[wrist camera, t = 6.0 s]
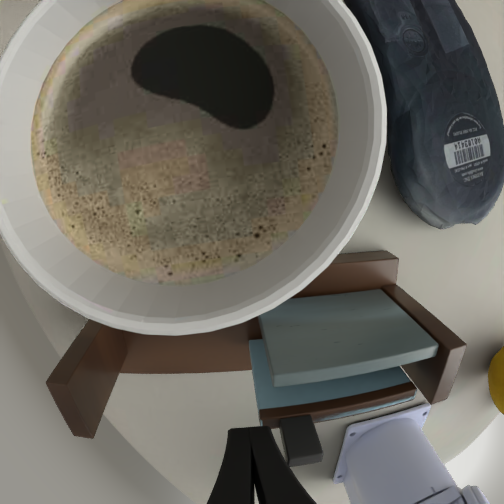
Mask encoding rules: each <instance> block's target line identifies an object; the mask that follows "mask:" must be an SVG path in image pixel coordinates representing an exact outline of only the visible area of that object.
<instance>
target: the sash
mask: <svg viewBox="0 0 504 504" xmlns="http://www.w3.org/2000/svg"><path fill="white" fill-rule="evenodd" d="M249 351H250V358H251V365H252V372H253V379H254V386H255V393H256V400H257V407H258V414H259V421H260V426H269V427H270V428H271V429H276V428H279V429H280V433H281V438H282V443H283V447H284V452H285V457H286V461H287V464H288V466H289V467H294V466H300V465H306V464H312V463H318V462H321V461H322V457H323V450H322V447H321V444H320V441H319V438H318V435H317V432H316V429H315V426H314V423H318V422H323V421H329V420H334V419H339V418H344V417H349V416H354V415H358V414H362V413H367V412H371V411H375V410H379V409H383V408H386V407H390V406H394V405H397V404H401V403H404V402H408V401H411V400H413V399H414V397H415V394H416V392H417V388H416V386H415V385H414V384H413V382H411V381H410V379H409V378H408V377H407V375H406V374H405V373H404V371H403V370H402V369H401V368H400V366H397V367H392V368H388V369H384V370H379V371H374V372H370V373H365V374H360V375H355V376H349V377H344V378H338V379H332V380H326V381H320V382H313V383H306V384H299V385H291V386H283V387H273V385H272V380H271V375H270V371H269V366H268V362H267V357H266V352H265V348H264V343H263V339H257V340H249Z"/></svg>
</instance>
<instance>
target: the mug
mask: <svg viewBox="0 0 504 504" xmlns="http://www.w3.org/2000/svg"><path fill="white" fill-rule="evenodd" d="M386 134H387V106H386V99H385V93H384V87H383V81H382V76H381V73H380V69H379V66H378V64H377V61H376V58H375V55H374V52H373V49H372V47H371V44H370V43H369V41H368V39H367V37H366V35H365V33H364V32H363V30H362V28H361V26H360V24H359V23H358V21H357V19H356V18H355V16H354V15H353V14H352V12H351V11H350V10H349V9H348V7H347V6H346V5H345V4H344V3H343V1H342V0H41V1H40V2H39V3H38V4H37V5H36V6H35V8H34V9H33V10H32V11H31V12H30V13H29V14H28V15H27V16H26V18H25V19H24V20H23V22H22V23H21V25H20V26H19V27H18V29H17V30H16V32H15V33H14V35H13V36H12V38H11V39H10V41H9V42H8V44H7V46H6V48H5V50H4V52H3V54H2V56H1V58H0V235H1V237H2V239H3V241H4V242H5V244H6V246H7V247H8V249H9V250H10V252H11V253H12V255H13V256H14V258H15V259H16V261H17V262H18V264H19V265H20V266H21V267H22V268H23V269H24V270H25V272H26V273H27V274H28V275H29V276H30V277H31V278H32V279H33V280H34V281H35V282H36V284H37V285H39V286H40V287H41V288H42V289H44V290H45V291H46V292H47V293H48V294H50V295H51V296H52V297H53V298H55V299H56V300H57V301H59V302H60V303H61V304H63V305H65V306H67V307H68V308H70V309H72V310H74V311H75V312H77V313H79V314H81V315H82V316H84V317H86V318H89V319H91V320H94V321H96V322H99V323H102V324H104V325H107V326H110V327H113V328H116V329H121V330H126V331H131V332H136V333H141V334H148V335H172V336H178V335H187V334H196V333H205V332H211V331H215V330H218V329H222V328H226V327H229V326H233V325H236V324H240V323H243V322H245V321H247V320H249V319H252V318H254V317H256V316H258V315H261V314H263V313H265V312H267V311H269V310H272V309H273V308H275V307H277V306H278V305H280V304H281V303H283V302H284V301H286V300H287V299H289V298H290V297H292V296H293V295H295V294H297V293H298V292H300V291H301V290H302V289H304V288H305V287H306V286H307V285H308V284H309V283H310V282H311V281H313V280H314V279H315V278H316V277H317V276H318V275H319V274H320V273H321V272H322V271H324V270H325V269H326V268H327V267H328V266H329V265H330V263H331V262H332V261H333V260H334V259H335V257H336V256H337V255H338V254H339V252H340V251H341V250H342V249H343V247H344V246H345V245H346V244H347V242H348V241H349V240H350V239H351V237H352V235H353V233H354V232H355V230H356V228H357V227H358V225H359V223H360V221H361V220H362V218H363V216H364V214H365V212H366V211H367V209H368V206H369V204H370V201H371V199H372V196H373V193H374V191H375V188H376V185H377V182H378V180H379V177H380V173H381V168H382V163H383V158H384V152H385V147H386Z"/></svg>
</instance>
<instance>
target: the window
mask: <svg viewBox="0 0 504 504" xmlns="http://www.w3.org/2000/svg"><path fill="white" fill-rule="evenodd" d="M398 262H399V258H397V257H396V256H394V255H393V254H391V253H390V252H388V251H375V252H362V253H348V254H338V255H337V256H336V257H335V259H334V260H333V261H332V262H331V263H330V265H329V266H328V267H327V268H326V269H325V270H324V271H322V272H321V273H320V274H319V275H318V276H317V277H316V278H315V279H314V280H313V281H311V282H310V283H309V284H308V285H307V286H306V287H305V288H304V289H302V290H301V291H300V292H298V293H297V294H295V295H293V296H292V297H290V298H289V299H287V300H286V301H284V302H283V303H281V304H280V305H278V306H277V307H275V308H273V309H272V310H269V311H267V312H265V313H263V314H261V315H258V316H256V317H254V318H252V319H249V320H247V321H245V322H243V323H240V324H236V325H233V326H229V327H226V328H222V329H218V330H215V331H211V332H205V333H196V334H187V335H178V336H172V335H148V334H141V333H136V332H131V331H126V330H121V329H116V328H113V327H110V326H107V325H104V324H102V323H99V322H96V321H94V320H91V319H89V321H88V322H87V323H86V325H85V326H84V328H83V329H82V330H81V332H80V333H79V334H78V336H77V337H76V339H75V340H74V341H73V343H72V344H71V346H70V347H69V348H68V350H67V351H66V353H65V354H64V356H63V357H62V359H61V360H60V362H59V363H58V365H57V366H56V368H55V369H54V370H53V372H52V373H51V375H50V376H49V378H48V380H47V381H46V384H47V387H48V389H49V391H50V393H51V395H52V397H53V399H54V401H55V403H56V405H57V407H58V408H59V410H60V412H61V414H62V416H63V418H64V420H65V421H66V423H67V425H68V426H69V428H70V430H71V432H72V433H73V435H74V436H78V437H84V438H91V439H93V438H94V436H95V433H96V430H97V428H98V425H99V423H100V420H101V417H102V415H103V412H104V410H105V407H106V404H107V402H108V399H109V397H110V394H111V392H112V390H113V387H114V385H115V382H116V380H117V377H118V375H119V373H138V374H179V373H210V372H228V371H243V370H252V365H251V358H250V351H249V340H257V339H263V343H264V348H265V352H266V357H267V362H268V366H269V371H270V375H271V380H272V385H273V387H283V386H291V385H299V384H306V383H313V382H320V381H326V380H332V379H338V378H344V377H349V376H355V375H360V374H365V373H370V372H374V371H379V370H384V369H388V368H392V367H397V366H401V367H402V368H403V369H404V370H405V372H406V373H407V374H408V376H409V377H410V378H411V379H412V381H413V382H414V383H415V385H416V386H417V387H418V389H419V390H420V391H421V393H422V394H423V395H424V397H425V398H426V399H427V401H428V402H429V403H430V404H431V405H432V404H435V403H437V402H440V401H443V400H445V399H447V398H448V395H449V393H450V391H451V388H452V386H453V383H454V380H455V378H456V375H457V372H458V370H459V367H460V364H461V361H462V358H463V355H464V352H465V349H466V346H467V344H466V343H465V342H464V341H462V340H461V339H460V338H459V337H458V336H457V335H456V334H455V333H453V332H452V331H451V330H450V329H449V328H448V327H447V326H445V325H444V324H443V323H442V322H441V321H440V320H438V319H437V318H436V317H435V316H434V315H433V314H431V313H430V312H429V311H428V310H427V309H425V308H424V307H423V306H422V305H421V304H420V303H418V302H417V301H416V300H415V299H414V298H412V297H411V296H410V295H409V294H407V293H406V292H405V291H404V290H403V289H401V288H400V287H399V286H398V285H396V280H397V271H398Z"/></svg>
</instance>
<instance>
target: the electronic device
mask: <svg viewBox="0 0 504 504" xmlns="http://www.w3.org/2000/svg"><path fill="white" fill-rule="evenodd" d="M344 2H345V4H346V6H347V7H348V9H349V10H350V11H351V12H352V14H353V15H354V16H355V18H356V19H357V21H358V23H359V24H360V26H361V28H362V30H363V32H364V33H365V35H366V37H367V39H368V41H369V43H370V44H371V47H372V49H373V52H374V55H375V58H376V61H377V64H378V66H379V69H380V73H381V76H382V81H383V87H384V93H385V99H386V106H387V123H388V154H389V157H390V160H391V171H392V174H393V177H394V180H395V183H396V185H397V188H398V190H399V192H400V194H401V196H402V197H403V199H404V201H405V203H407V204H408V206H409V207H410V208H411V210H412V211H413V212H414V213H415V214H416V215H417V216H419V217H420V218H421V219H422V220H423V221H425V222H426V223H428V224H429V225H431V226H434V227H436V228H439V229H443V228H444V229H446V228H449V227H452V226H454V225H455V224H459V223H473V224H475V225H476V224H478V223H479V222H480V221H481V220H483V219H484V218H485V217H486V216H487V215H488V214H489V212H490V211H491V210H492V208H493V207H494V206H495V202H496V201H497V199H498V197H499V195H500V193H501V190H502V188H503V185H504V125H503V119H502V114H501V110H500V106H499V101H498V97H497V94H496V91H495V88H494V85H493V82H492V79H491V76H490V74H489V71H488V68H487V64H486V61H485V59H484V57H483V54H482V51H481V49H480V47H479V44H478V42H477V40H476V38H475V36H474V33H473V31H472V28H471V26H470V25H469V23H468V22H467V20H466V19H465V17H464V15H463V13H462V11H461V9H460V8H459V7H458V5H457V3H456V2H455V0H344Z"/></svg>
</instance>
